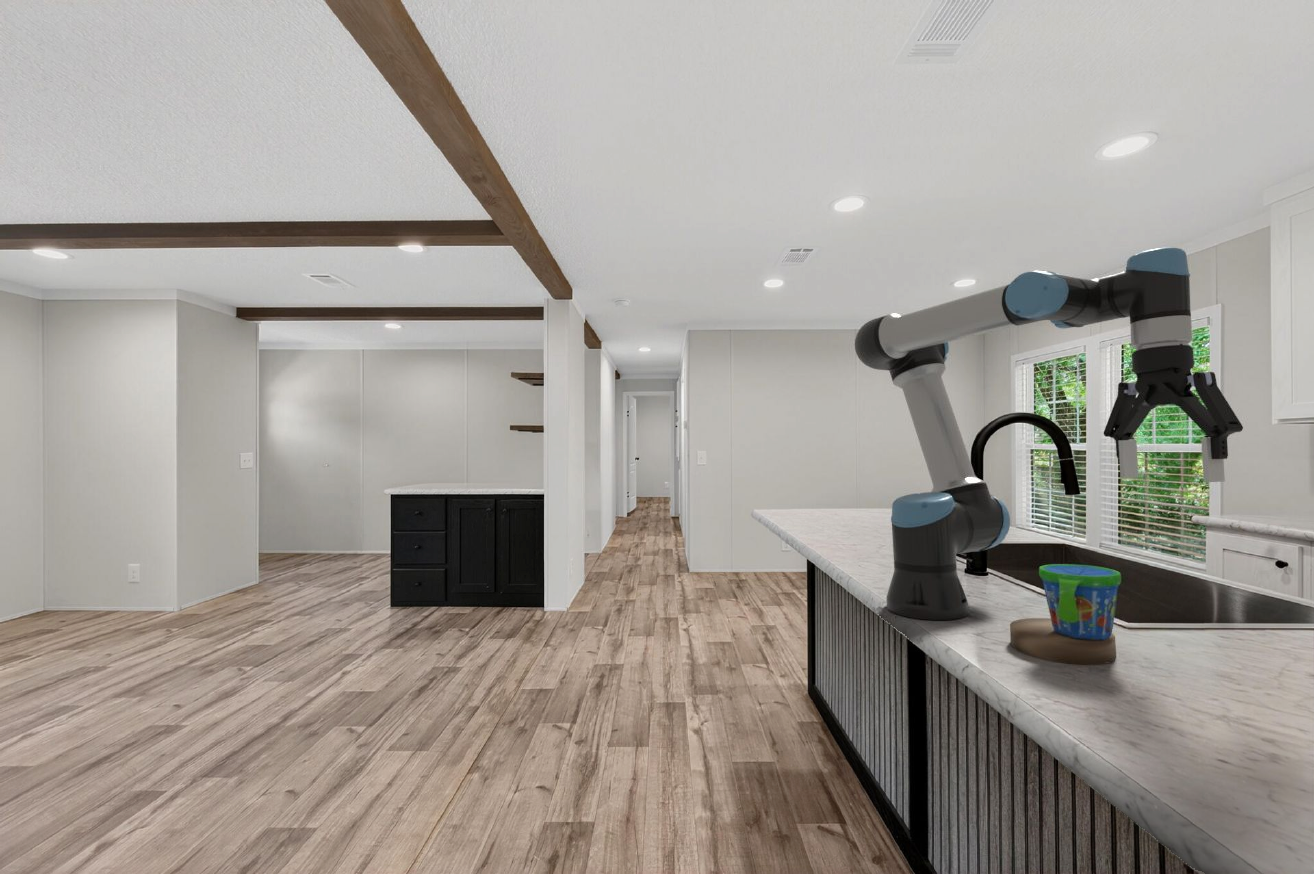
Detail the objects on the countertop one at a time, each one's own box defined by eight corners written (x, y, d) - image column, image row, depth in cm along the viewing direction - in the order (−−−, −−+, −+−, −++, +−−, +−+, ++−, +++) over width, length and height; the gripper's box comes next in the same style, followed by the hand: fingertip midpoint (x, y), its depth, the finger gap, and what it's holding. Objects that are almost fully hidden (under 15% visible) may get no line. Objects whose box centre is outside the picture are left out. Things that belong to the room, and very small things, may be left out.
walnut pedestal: (991, 638, 102) (990, 621, 102) (1064, 632, 104) (1064, 615, 104) (1057, 667, 88) (1056, 647, 88) (1140, 660, 90) (1139, 640, 90)
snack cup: (1063, 618, 102) (1060, 558, 102) (1139, 631, 94) (1136, 567, 94) (1023, 637, 93) (1020, 571, 93) (1104, 654, 84) (1100, 582, 85)
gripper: (1271, 331, 83) (1280, 482, 83) (1112, 359, 108) (1118, 476, 108) (1225, 331, 82) (1234, 484, 82) (1075, 360, 107) (1081, 477, 107)
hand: (1168, 480), depth 95 cm, fingers open, 13 cm apart
